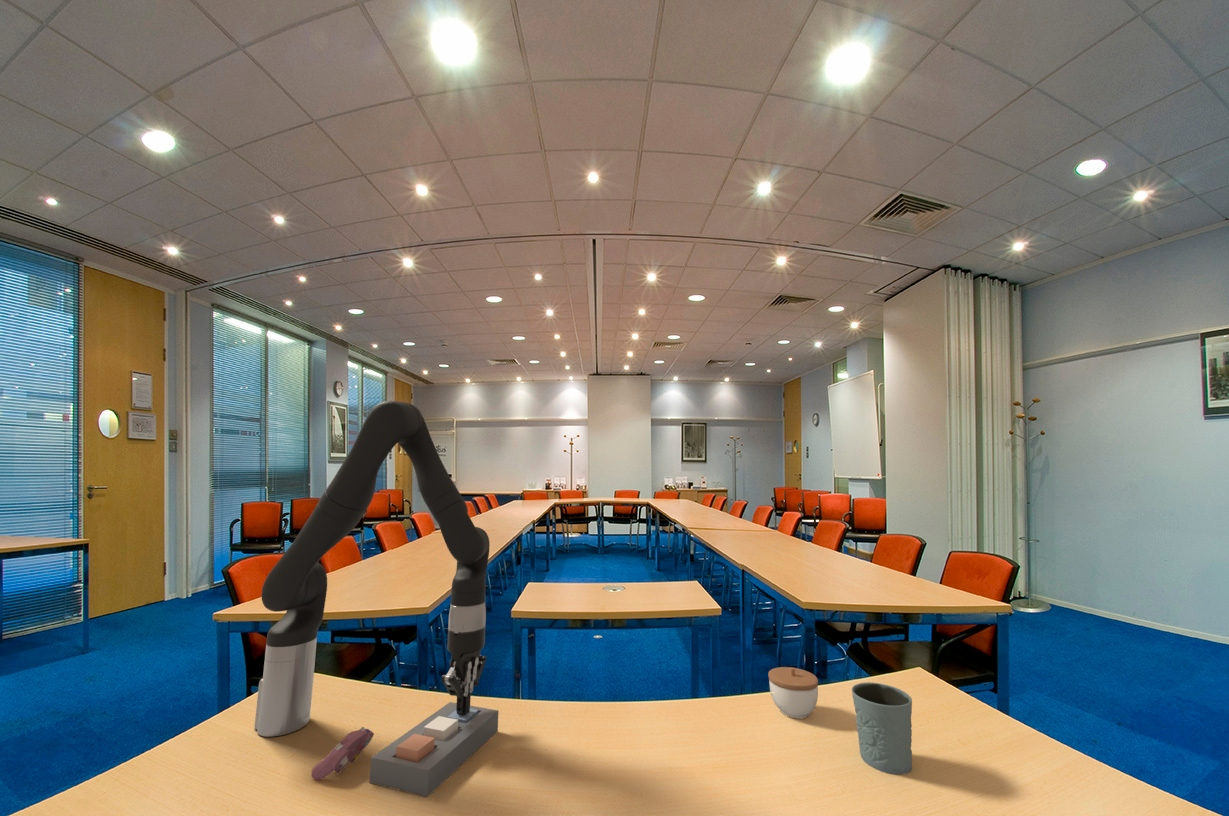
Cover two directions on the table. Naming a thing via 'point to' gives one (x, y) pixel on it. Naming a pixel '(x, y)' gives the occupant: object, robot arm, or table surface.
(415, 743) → the terracotta key
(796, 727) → the table surface
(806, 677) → the lidded jar
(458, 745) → the key console
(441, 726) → the off-white key
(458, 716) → the slate blue key
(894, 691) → the grey embossed vase
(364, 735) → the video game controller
